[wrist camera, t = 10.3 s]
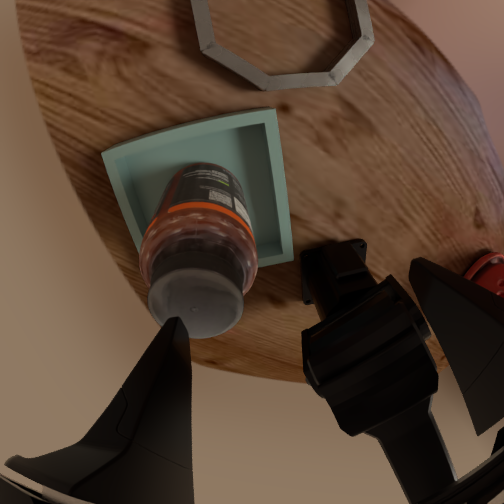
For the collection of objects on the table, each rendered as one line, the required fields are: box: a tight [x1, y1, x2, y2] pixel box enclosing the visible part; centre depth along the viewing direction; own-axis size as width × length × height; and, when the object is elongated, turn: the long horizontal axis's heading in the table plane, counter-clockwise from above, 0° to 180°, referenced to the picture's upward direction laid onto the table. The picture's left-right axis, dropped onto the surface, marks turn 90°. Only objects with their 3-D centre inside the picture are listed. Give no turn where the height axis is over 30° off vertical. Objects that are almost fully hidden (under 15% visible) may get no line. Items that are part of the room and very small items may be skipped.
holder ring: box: [191, 0, 375, 91], centre depth 13 cm, size 12×12×2 cm
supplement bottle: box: [139, 162, 258, 338], centre depth 15 cm, size 6×6×11 cm
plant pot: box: [464, 252, 504, 298], centre depth 26 cm, size 13×13×12 cm
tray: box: [101, 107, 294, 267], centre depth 19 cm, size 12×12×2 cm
